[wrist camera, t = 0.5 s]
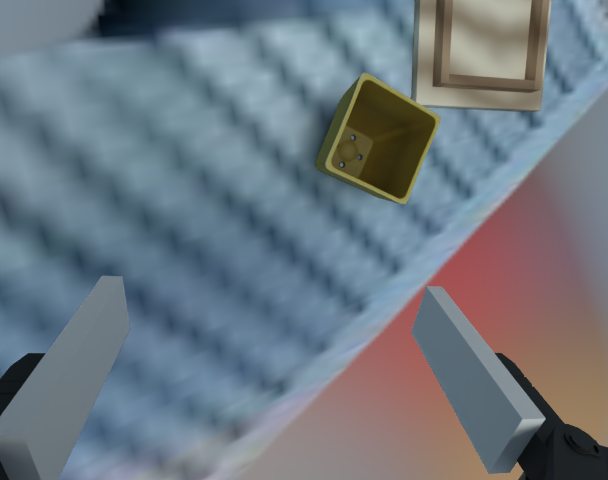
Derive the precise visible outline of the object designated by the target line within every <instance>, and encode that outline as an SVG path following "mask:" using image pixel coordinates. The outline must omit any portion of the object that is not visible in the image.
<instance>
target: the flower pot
mask: <svg viewBox="0 0 608 480" xmlns="http://www.w3.org/2000/svg"><path fill="white" fill-rule="evenodd" d="M440 119H441V118H440V116H439V115H438V114H436V113H434V112H433V111H431V110H429V109H427V108H426V107H424V106H422V105H420V104H419V103H417V102H415V101H413V100H412V99H410V98H409V97H407V96H405V95H403V94H402V93H400V92H398V91H397V90H395V89H393V88H392V87H390V86H388V85H387V84H385V83H384V82H382V81H380V80H378V79H377V78H375V77H373V76H372V75H370V74H367V73H363V74H362V75H361V76H360V77H359V78H358V79H357V80H356V81H355V82H354V84H353V85H352V86H351V87H350V88H349V89H348V90H347V92H346V93H345V94H344V95H343V97H342V99H341V100H340V103H339V105H338V107H337V110H336V113H335V115H334V118H333V120H332V123H331V125H330V128H329V130H328V133H327V135H326V138H325V140H324V142H323V145H322V147H321V150H320V152H319V154H318V157H317V159H316V162H315V167H316V168H317V169H318V170H320V171H322V172H324V173H327V174H329V175H331V176H333V177H335V178H338V179H340V180H342V181H344V182H346V183H348V184H351V185H353V186H355V187H357V188H359V189H361V190H363V191H365V192H367V193H369V194H371V195H373V196H375V197H378V198H381V199H385V200H388V201H392V202H395V203H399V204H405V203H406V202H407V201H408V199H409V196H410V194H411V191H412V189H413V186H414V183H415V181H416V178H417V176H418V173H419V171H420V168H421V165H422V163H423V161H424V158H425V156H426V154H427V151H428V149H429V147H430V145H431V143H432V140H433V138H434V136H435V133H436V131H437V129H438V126H439V123H440ZM352 135H353V136H355V140H351V136H352ZM358 155H361V157H362V158H361V160H358V159H357V156H358ZM341 162H343V163H344V167H340V163H341Z"/></svg>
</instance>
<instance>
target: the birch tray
mask: <svg viewBox="0 0 608 480" xmlns="http://www.w3.org/2000/svg"><path fill="white" fill-rule="evenodd" d="M551 1H552V0H415V18H414V45H413V72H412V100H413V101H415V102H417V103H419V104H420V105H422V106H424V107H438V108H460V109H481V110H502V111H524V112H536V111H541V103H542V93H543V82H544V72H545V62H546V52H547V42H548V31H549V21H550V11H551Z"/></svg>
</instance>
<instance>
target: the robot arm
mask: <svg viewBox="0 0 608 480" xmlns="http://www.w3.org/2000/svg"><path fill="white" fill-rule="evenodd" d="M129 330H130V324H129V317H128V311H127V304H126V297H125V290H124V284H123V277H122V276H102V277H101V278H100V279H99V281H98V282H97V283H96V285H95V286H94V288H93V289H92V290H91V292H90V293H89V294H88V296H87V297H86V299H85V300H84V301H83V303H82V304H81V306H80V307H79V308H78V310H77V311H76V312H75V314H74V315H73V317H72V318H71V319H70V321H69V322H68V323H67V325H66V326H65V328H64V329H63V330H62V332H61V333H60V334H59V336H58V337H57V339H56V340H55V341H54V343H53V344H52V346H51V347H50V348H49V350H48V351H47V352H46V353H28V354H27V355H25V356H24V357H23V358H21V359H20V360H18V361H17V362H16V363H14V364H13V365H12V366H10V368H9V369H8V370H7V371H6V373H5V374H4V375H3V376H2V378H1V379H0V480H58V479H59V477H60V474H61V472H62V470H63V468H64V466H65V464H66V462H67V460H68V458H69V456H70V454H71V452H72V449H73V447H74V445H75V443H76V441H77V439H78V437H79V435H80V433H81V431H82V429H83V426H84V424H85V422H86V420H87V418H88V416H89V414H90V412H91V410H92V408H93V406H94V403H95V401H96V399H97V397H98V395H99V393H100V391H101V389H102V387H103V385H104V383H105V381H106V378H107V376H108V374H109V372H110V370H111V368H112V366H113V364H114V362H115V360H116V358H117V355H118V353H119V351H120V349H121V347H122V345H123V343H124V341H125V339H126V337H127V335H128V333H129ZM411 332H412V334H413V336H414V338H415V340H416V342H417V344H418V345H419V347H420V349H421V351H422V353H423V354H424V356H425V358H426V360H427V362H428V364H429V365H430V367H431V369H432V371H433V373H434V375H435V376H436V378H437V380H438V382H439V384H440V385H441V387H442V389H443V391H444V393H445V395H446V396H447V398H448V400H449V402H450V404H451V406H452V407H453V409H454V411H455V413H456V415H457V416H458V418H459V420H460V422H461V424H462V426H463V427H464V429H465V431H466V433H467V435H468V436H469V438H470V440H471V442H472V444H473V446H474V448H475V449H476V451H477V453H478V455H479V456H480V459H481V460H482V462H483V464H484V466H485V468H486V469H487V471H488V473H489V474H491V473H508V472H510V471H511V470H512V468H513V467H514V465H515V464H516V462H518V463H519V465H520V466H521V468H522V469H523V471H524V472H523V474H522V475H521V477H520V478H519V479H518V480H608V447H604V446H601V445H599V444H598V443H597V442H596V441H595V440H594V439H593V438H592V437H591V436H590V435H588V434H587V433H586V432H584V431H582V430H581V429H579V428H577V427H574V426H572V425H569V424H565V423H564V422H563V421H562V420H561V419H560V418H559V416H558V415H557V414H556V413H555V412H554V411H553V409H552V408H551V407H550V406H549V404H548V403H547V402H546V401H545V400H544V399H543V397H542V396H541V395H540V394H539V392H538V391H537V390H536V389H535V388H534V387H532V384H531V383H530V382H529V380H528V379H527V378H526V377H524V375H523V373H522V372H521V371H520V369H519V368H518V367H517V366H516V365H515V363H513V362H512V361H511V360H510V359H508V358H507V357H506V356H504V355H503V354H501V353H494V352H493V351H492V350H491V348H490V347H489V346H488V345H487V343H486V342H485V341H484V340H483V338H482V337H481V336H480V335H479V333H478V332H477V331H476V330H475V328H474V327H473V326H472V324H471V323H470V322H469V321H468V319H467V318H466V317H465V316H464V314H463V313H462V312H461V310H460V309H459V308H458V307H457V305H456V304H455V303H454V302H453V300H452V299H451V298H450V297H449V295H448V294H447V293H446V291H445V290H444V289H443V288H442V287H429V286H427V287H426V290H425V293H424V295H423V299H422V301H421V305H420V308H419V310H418V313H417V316H416V319H415V322H414V325H413V328H412V331H411Z"/></svg>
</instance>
